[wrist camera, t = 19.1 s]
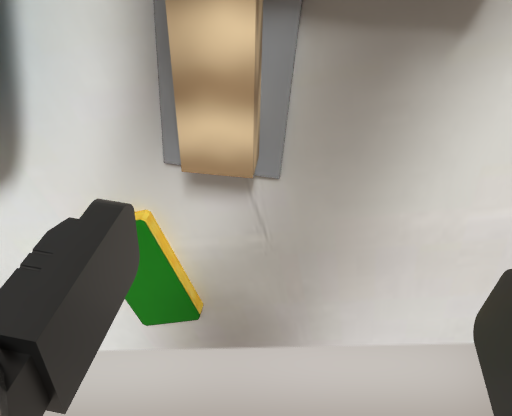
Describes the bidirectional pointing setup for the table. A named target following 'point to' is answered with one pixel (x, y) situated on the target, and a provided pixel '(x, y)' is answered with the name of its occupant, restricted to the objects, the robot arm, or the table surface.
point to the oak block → (217, 83)
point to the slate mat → (272, 82)
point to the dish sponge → (160, 279)
